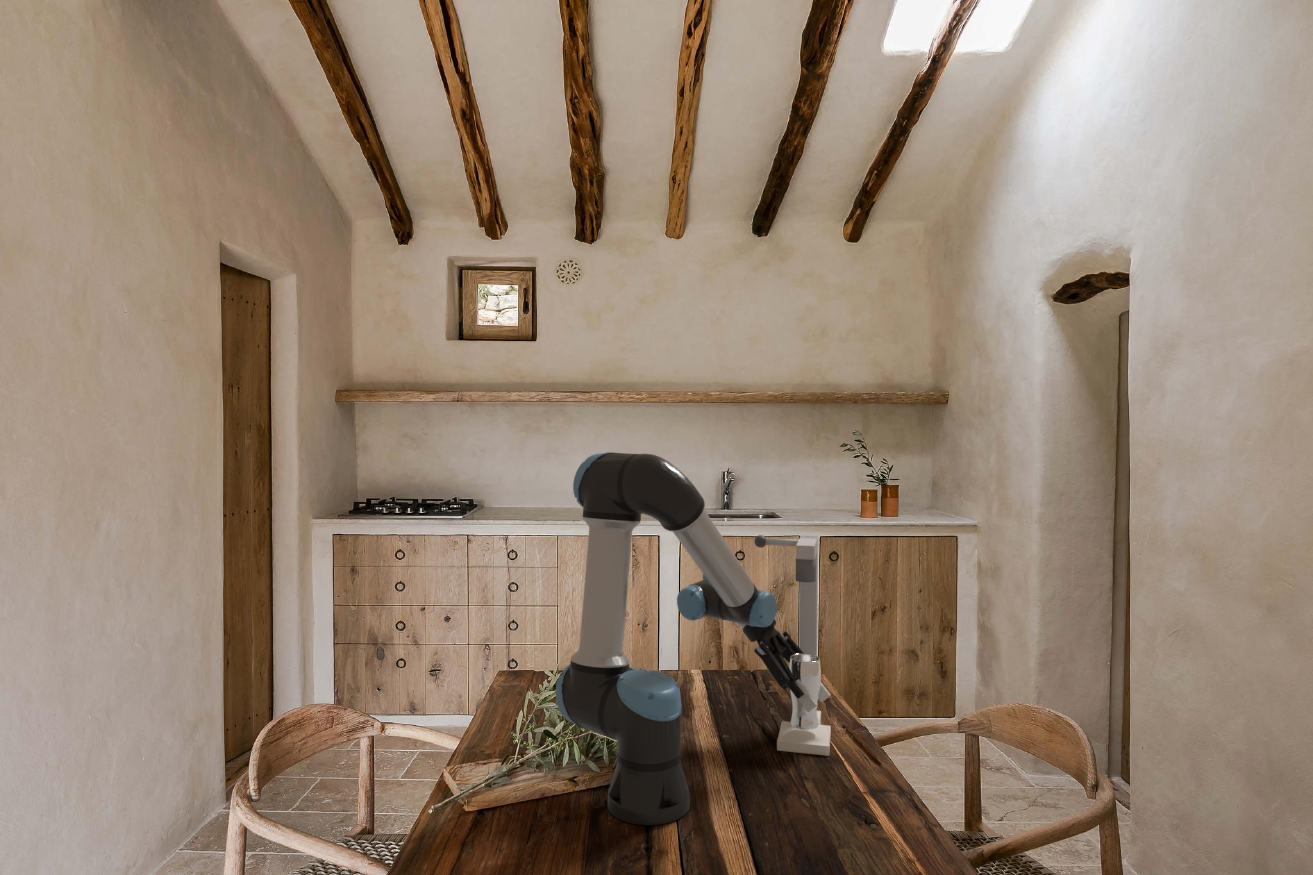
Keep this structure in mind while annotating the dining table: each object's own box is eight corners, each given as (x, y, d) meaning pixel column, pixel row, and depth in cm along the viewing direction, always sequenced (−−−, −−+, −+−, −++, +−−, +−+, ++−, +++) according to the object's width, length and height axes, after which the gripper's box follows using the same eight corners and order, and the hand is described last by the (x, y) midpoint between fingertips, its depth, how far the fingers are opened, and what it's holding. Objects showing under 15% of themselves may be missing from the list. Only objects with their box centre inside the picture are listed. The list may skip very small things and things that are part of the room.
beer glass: (786, 728, 168) (787, 660, 168) (790, 717, 175) (791, 651, 174) (819, 732, 166) (819, 663, 166) (821, 720, 172) (822, 654, 172)
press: (829, 755, 163) (830, 549, 163) (742, 746, 168) (743, 545, 167) (831, 720, 183) (832, 536, 183) (754, 712, 188) (755, 533, 188)
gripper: (762, 620, 187) (825, 700, 178) (722, 638, 171) (789, 727, 162) (782, 601, 184) (847, 681, 175) (744, 617, 168) (813, 707, 158)
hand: (819, 703), depth 168 cm, fingers closed on beer glass, 7 cm apart
